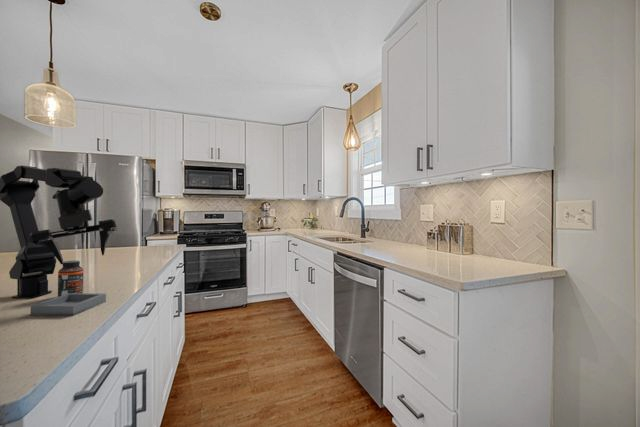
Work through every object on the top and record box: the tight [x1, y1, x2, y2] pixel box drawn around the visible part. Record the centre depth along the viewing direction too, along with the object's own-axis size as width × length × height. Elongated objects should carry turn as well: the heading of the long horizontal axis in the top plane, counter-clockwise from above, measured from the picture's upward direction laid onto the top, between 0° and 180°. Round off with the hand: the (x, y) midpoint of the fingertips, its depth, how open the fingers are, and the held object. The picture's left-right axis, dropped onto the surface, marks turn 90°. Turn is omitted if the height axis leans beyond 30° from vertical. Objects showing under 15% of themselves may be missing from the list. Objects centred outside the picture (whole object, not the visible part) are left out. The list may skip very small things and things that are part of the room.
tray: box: [30, 292, 107, 317], centre depth 76 cm, size 11×11×2 cm
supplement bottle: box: [57, 260, 84, 297], centre depth 86 cm, size 6×6×11 cm
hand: (83, 259), depth 79 cm, fingers open, 9 cm apart
